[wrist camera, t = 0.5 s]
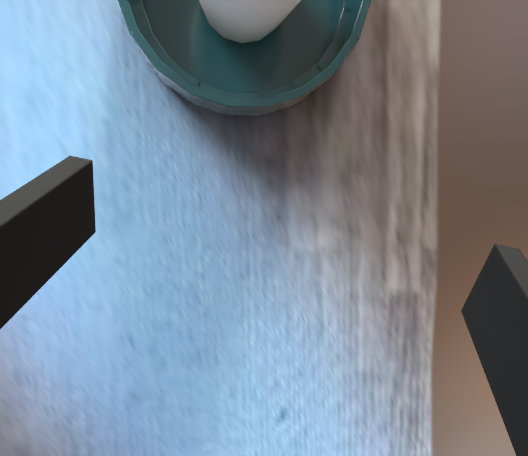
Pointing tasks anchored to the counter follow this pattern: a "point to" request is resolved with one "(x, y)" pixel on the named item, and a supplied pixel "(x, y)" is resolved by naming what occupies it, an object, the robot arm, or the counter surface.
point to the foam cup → (246, 17)
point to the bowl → (244, 53)
